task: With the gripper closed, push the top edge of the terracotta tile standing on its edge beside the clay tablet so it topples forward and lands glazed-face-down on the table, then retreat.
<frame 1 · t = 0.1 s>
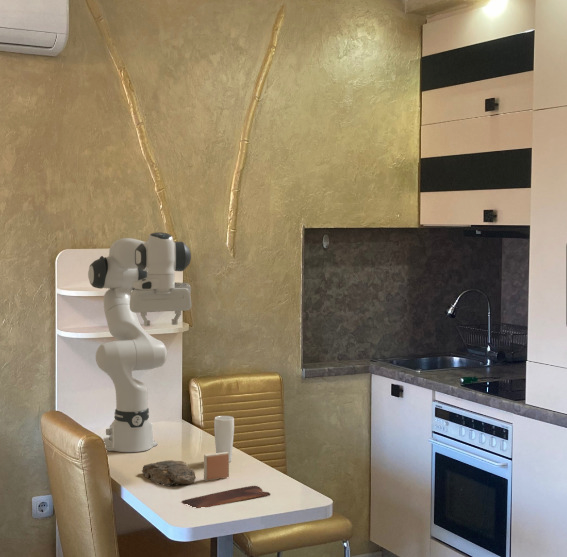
hand: (160, 325, 284), 48 cm above the table, tool pointing down, fingers open, 8 cm apart
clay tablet: (171, 480, 278), on the table
wooden tablet: (226, 500, 260), on the table
tile: (216, 478, 279), on the table
drinking glass: (224, 461, 298), on the table
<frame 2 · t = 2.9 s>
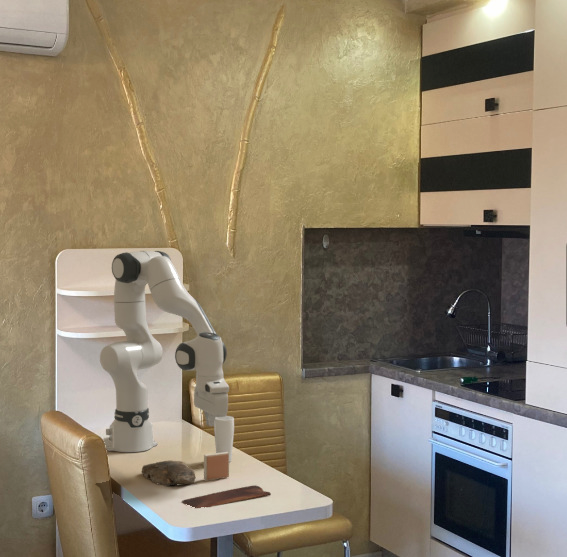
hand: (210, 425, 283), 16 cm above the table, tool pointing down, fingers closed
nothing on the table moved.
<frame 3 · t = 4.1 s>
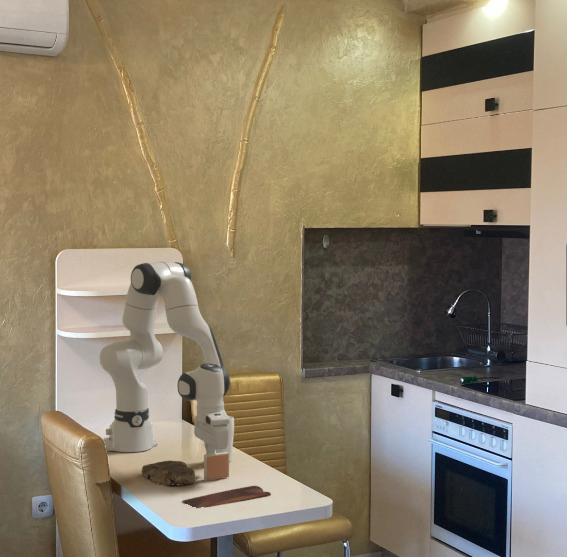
hand: (210, 456, 283), 6 cm above the table, tool pointing down, fingers closed
nothing on the table moved.
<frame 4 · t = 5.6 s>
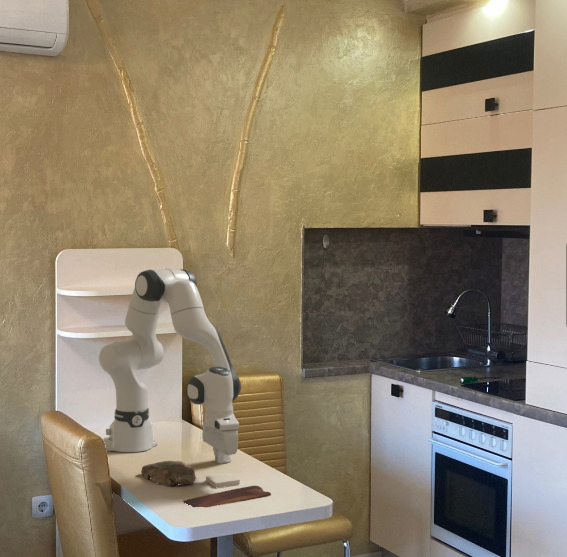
hand: (219, 462, 277), 6 cm above the table, tool pointing down, fingers closed
tile: (217, 476, 278), point 1 cm above the table, tilted 90°
everything else where it was.
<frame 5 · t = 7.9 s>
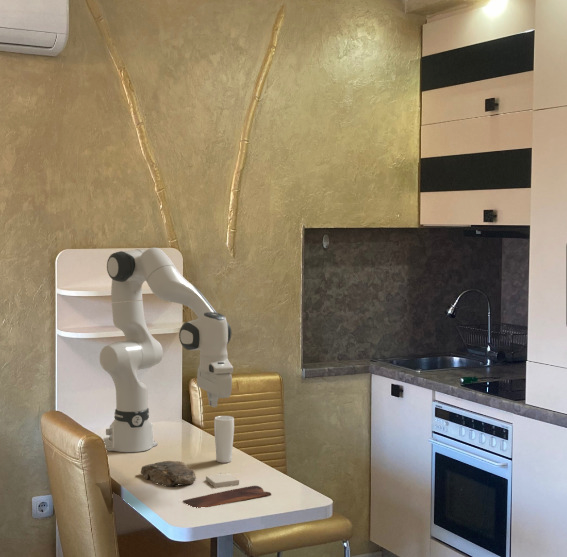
hand: (213, 406, 280), 23 cm above the table, tool pointing down, fingers closed
nothing on the table moved.
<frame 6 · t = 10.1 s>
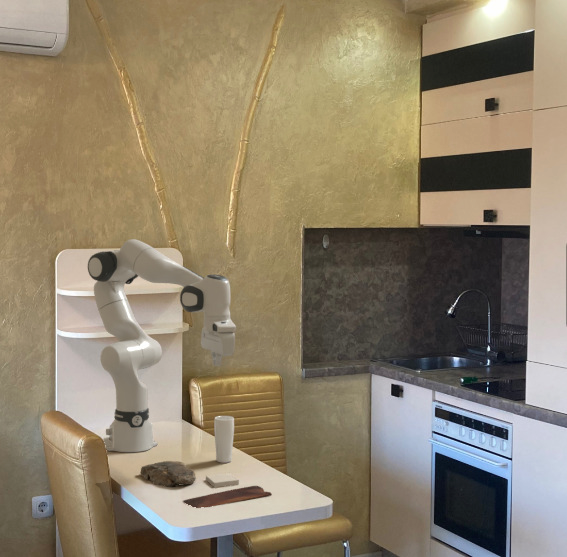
hand: (216, 365, 289), 34 cm above the table, tool pointing down, fingers closed
nothing on the table moved.
at the end: tile tilted 90°; tile inside the target area (4.3 cm from its centre), point 0.7 cm above the table; the gripper is holding nothing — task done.
